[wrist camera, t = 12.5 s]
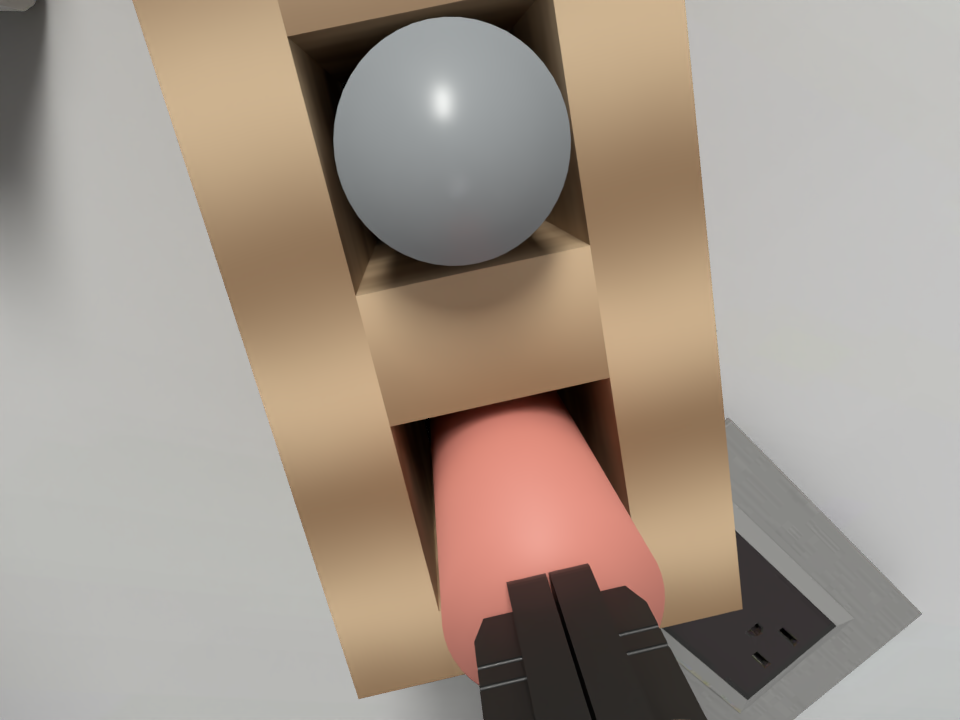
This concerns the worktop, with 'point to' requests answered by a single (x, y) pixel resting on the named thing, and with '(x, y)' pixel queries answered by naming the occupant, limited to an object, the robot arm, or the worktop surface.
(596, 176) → the socket block
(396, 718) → the worktop surface
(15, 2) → the electrical switch
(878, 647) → the electrical outlet
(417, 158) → the grey plug middle
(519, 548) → the salmon pink plug
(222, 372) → the worktop surface
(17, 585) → the worktop surface
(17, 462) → the worktop surface
